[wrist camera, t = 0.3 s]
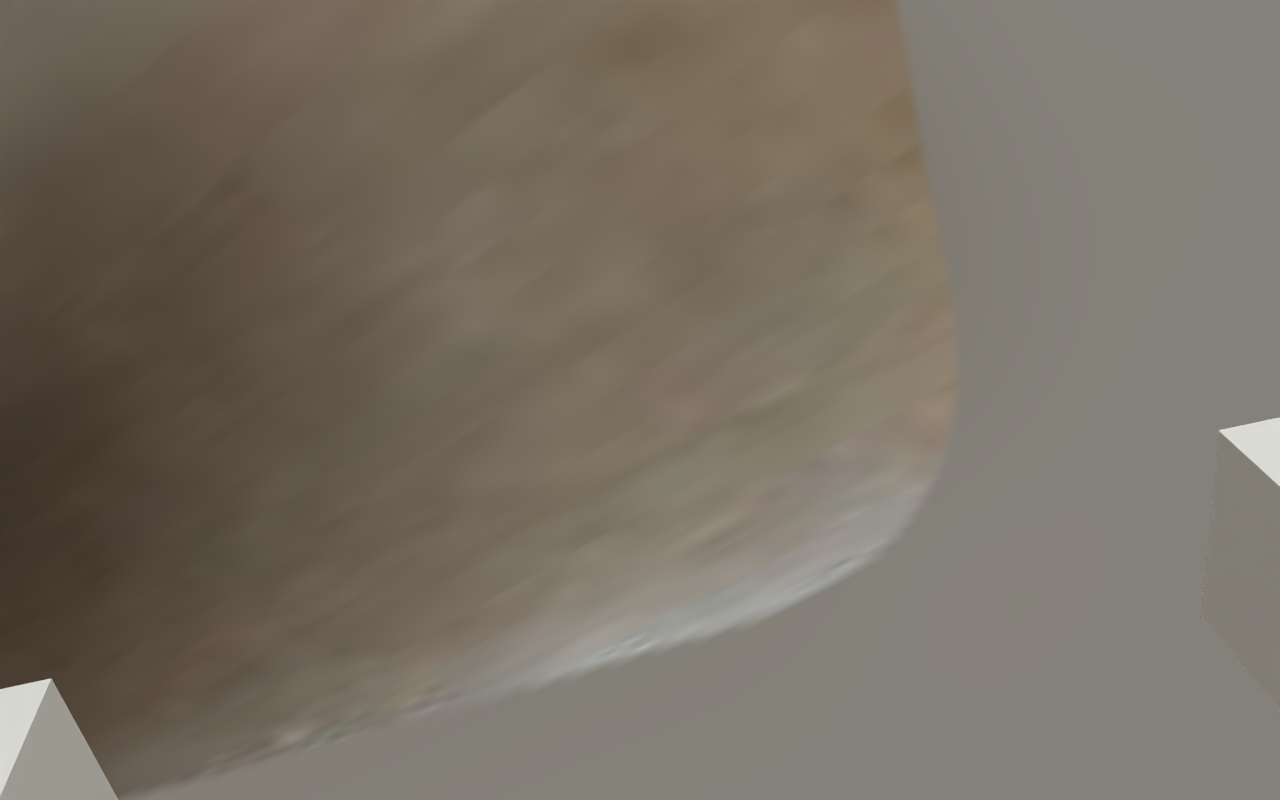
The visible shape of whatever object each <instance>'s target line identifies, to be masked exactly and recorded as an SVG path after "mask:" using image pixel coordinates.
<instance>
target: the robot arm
mask: <svg viewBox="0 0 1280 800" xmlns="http://www.w3.org/2000/svg"><path fill="white" fill-rule="evenodd" d="M1213 484H1214V485H1213V494H1212V504H1211V514H1210V524H1209V535H1208V545H1207V556H1206V566H1205V576H1204V587H1203V597H1202V607H1201V619H1202V620H1203V621H1204V623H1205V624H1206V625H1207V626H1208V628H1209V629H1210V630H1211V631H1212V632H1213V634H1214V635H1215V636H1216V637H1217V638H1218V640H1219V641H1220V642H1221V643H1222V644H1223V645H1224V647H1225V648H1226V649H1227V650H1228V651H1229V653H1230V654H1231V655H1232V656H1233V657H1234V659H1235V660H1236V661H1237V662H1238V663H1239V665H1240V666H1241V667H1242V668H1243V669H1244V670H1245V672H1246V673H1247V674H1248V675H1249V677H1250V678H1251V679H1252V680H1253V681H1254V682H1255V684H1256V685H1257V686H1258V687H1259V688H1260V689H1261V691H1262V692H1263V693H1264V694H1265V696H1266V697H1267V698H1268V699H1269V700H1270V702H1271V703H1272V704H1273V705H1274V706H1275V708H1276V709H1277V710H1278V711H1279V712H1280V418H1275V419H1270V420H1265V421H1261V422H1257V423H1251V424H1247V425H1242V426H1238V427H1233V428H1228V429H1223V430H1219V431H1218V442H1217V452H1216V464H1215V473H1214V483H1213ZM0 800H118V798H117V797H116V795H115V793H114V791H113V789H112V788H111V786H110V784H109V782H108V780H107V778H106V777H105V775H104V773H103V771H102V769H101V768H100V766H99V764H98V762H97V760H96V758H95V757H94V755H93V753H92V751H91V749H90V748H89V746H88V744H87V742H86V740H85V739H84V737H83V735H82V733H81V731H80V729H79V728H78V726H77V724H76V722H75V720H74V719H73V717H72V715H71V713H70V711H69V709H68V708H67V706H66V704H65V702H64V700H63V699H62V697H61V695H60V693H59V691H58V690H57V688H56V686H55V684H54V682H53V680H52V679H46V680H41V681H37V682H32V683H27V684H23V685H18V686H13V687H8V688H4V689H0Z"/></svg>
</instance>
